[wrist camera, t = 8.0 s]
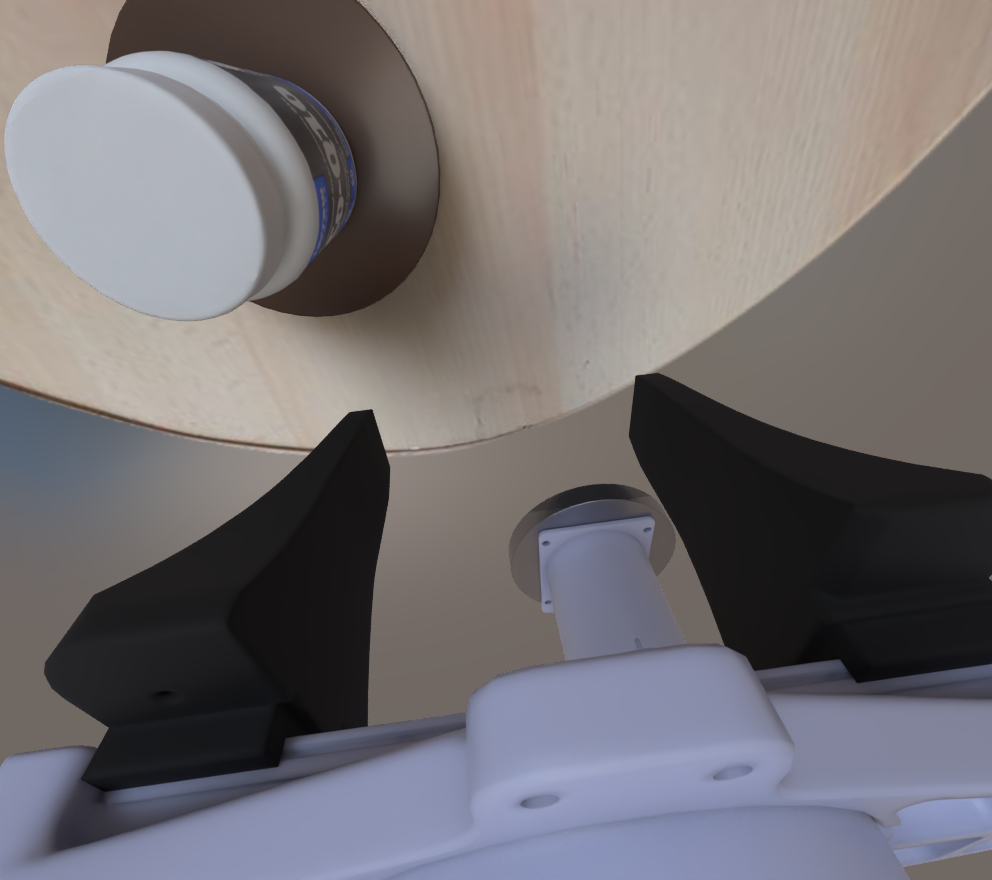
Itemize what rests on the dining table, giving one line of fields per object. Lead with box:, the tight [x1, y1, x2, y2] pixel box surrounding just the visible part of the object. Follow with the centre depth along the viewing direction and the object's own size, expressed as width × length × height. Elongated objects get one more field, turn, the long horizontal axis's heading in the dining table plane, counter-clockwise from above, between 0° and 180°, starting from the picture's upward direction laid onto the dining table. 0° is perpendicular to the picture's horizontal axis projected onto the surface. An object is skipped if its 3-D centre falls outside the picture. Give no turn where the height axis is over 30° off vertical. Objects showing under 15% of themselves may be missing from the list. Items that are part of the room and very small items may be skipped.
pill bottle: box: [4, 51, 357, 321], centre depth 11 cm, size 5×5×8 cm
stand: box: [106, 0, 440, 317], centre depth 15 cm, size 10×10×2 cm
